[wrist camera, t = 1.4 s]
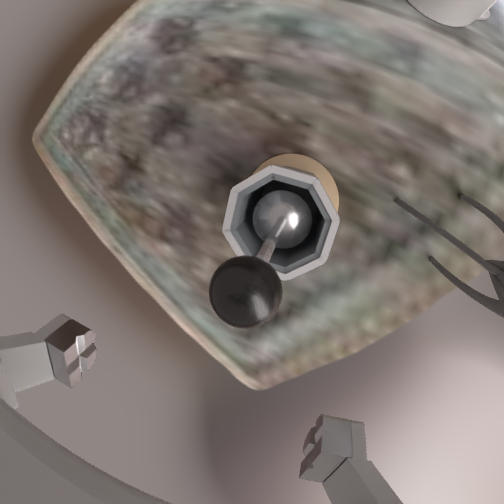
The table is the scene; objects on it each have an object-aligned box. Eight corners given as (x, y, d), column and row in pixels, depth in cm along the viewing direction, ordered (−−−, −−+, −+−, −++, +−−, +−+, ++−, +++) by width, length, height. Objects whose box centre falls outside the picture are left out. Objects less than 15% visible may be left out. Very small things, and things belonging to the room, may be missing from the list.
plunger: (261, 182, 31) (186, 231, 13) (319, 199, 30) (319, 272, 13) (248, 237, 33) (171, 336, 16) (302, 253, 32) (279, 373, 15)
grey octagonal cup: (258, 143, 41) (229, 141, 27) (349, 169, 39) (366, 180, 26) (236, 235, 46) (201, 273, 32) (320, 261, 44) (320, 310, 31)
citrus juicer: (432, 262, 40) (531, 402, 13) (378, 235, 41) (457, 380, 13) (464, 195, 36) (611, 274, 8) (411, 163, 37) (558, 206, 9)
